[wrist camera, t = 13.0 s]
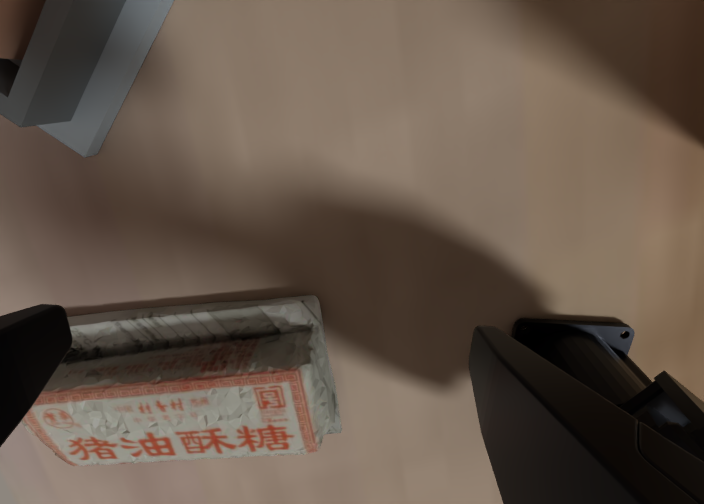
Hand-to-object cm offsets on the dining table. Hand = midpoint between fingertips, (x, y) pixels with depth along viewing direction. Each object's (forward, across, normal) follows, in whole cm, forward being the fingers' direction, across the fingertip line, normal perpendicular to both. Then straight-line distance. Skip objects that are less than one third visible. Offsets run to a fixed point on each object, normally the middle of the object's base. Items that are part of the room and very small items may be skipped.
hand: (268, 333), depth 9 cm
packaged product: (+14, +8, +12) cm, 20 cm away
